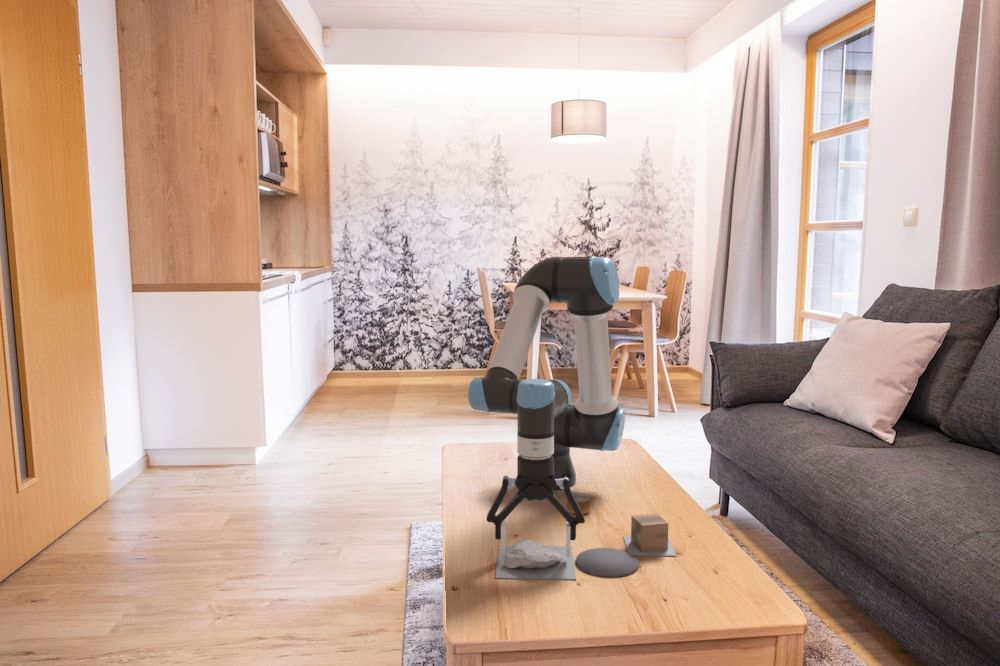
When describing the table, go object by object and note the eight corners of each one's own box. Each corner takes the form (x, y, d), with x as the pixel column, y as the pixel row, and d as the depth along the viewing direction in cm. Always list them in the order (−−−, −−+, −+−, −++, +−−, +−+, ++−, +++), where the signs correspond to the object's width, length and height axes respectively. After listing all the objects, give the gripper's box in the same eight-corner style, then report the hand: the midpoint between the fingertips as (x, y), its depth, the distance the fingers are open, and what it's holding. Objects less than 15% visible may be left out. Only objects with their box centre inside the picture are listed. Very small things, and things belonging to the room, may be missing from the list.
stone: (568, 555, 157) (568, 539, 157) (546, 577, 147) (546, 560, 146) (524, 547, 162) (524, 531, 161) (500, 567, 151) (500, 550, 151)
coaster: (574, 550, 160) (574, 547, 160) (634, 551, 160) (634, 548, 160) (578, 576, 148) (578, 573, 147) (643, 577, 147) (643, 574, 147)
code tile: (498, 546, 163) (498, 545, 163) (571, 547, 162) (571, 546, 162) (495, 578, 147) (495, 577, 147) (576, 579, 146) (576, 578, 146)
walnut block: (631, 541, 164) (631, 515, 164) (656, 539, 166) (656, 513, 165) (641, 552, 159) (642, 525, 158) (667, 549, 160) (668, 523, 159)
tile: (623, 537, 167) (623, 536, 167) (667, 538, 167) (667, 537, 167) (629, 555, 157) (629, 554, 157) (676, 556, 157) (676, 555, 157)
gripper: (473, 459, 149) (474, 560, 151) (598, 460, 147) (596, 562, 150) (476, 449, 156) (477, 546, 158) (595, 450, 155) (593, 547, 157)
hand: (535, 554), depth 154 cm, fingers open, 13 cm apart
